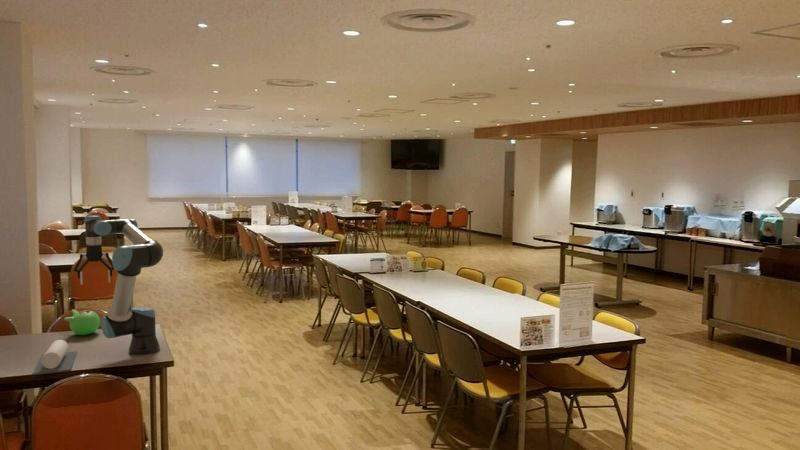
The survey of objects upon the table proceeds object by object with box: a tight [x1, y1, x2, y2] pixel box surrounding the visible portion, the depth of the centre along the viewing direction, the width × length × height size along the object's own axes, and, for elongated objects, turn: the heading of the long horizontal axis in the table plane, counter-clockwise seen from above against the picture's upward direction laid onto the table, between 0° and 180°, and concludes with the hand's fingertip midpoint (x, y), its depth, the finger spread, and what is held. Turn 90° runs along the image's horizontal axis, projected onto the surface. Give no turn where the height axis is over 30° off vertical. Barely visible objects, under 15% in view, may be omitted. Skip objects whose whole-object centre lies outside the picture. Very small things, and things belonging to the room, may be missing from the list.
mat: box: [32, 350, 78, 376], centre depth 308 cm, size 32×16×1 cm, turn 23°
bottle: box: [42, 339, 69, 369], centre depth 310 cm, size 8×8×28 cm
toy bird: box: [63, 309, 101, 336], centre depth 361 cm, size 18×17×15 cm
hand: (95, 283), depth 335 cm, fingers open, 13 cm apart
